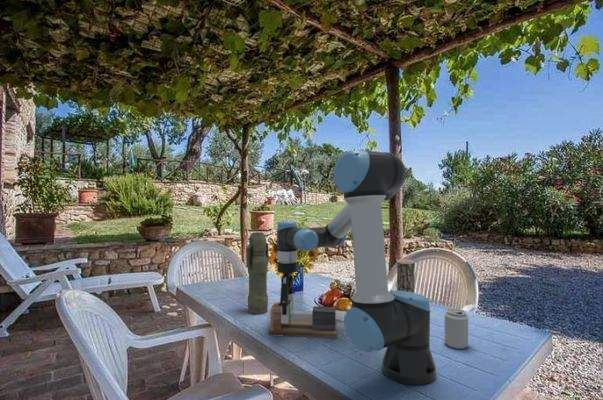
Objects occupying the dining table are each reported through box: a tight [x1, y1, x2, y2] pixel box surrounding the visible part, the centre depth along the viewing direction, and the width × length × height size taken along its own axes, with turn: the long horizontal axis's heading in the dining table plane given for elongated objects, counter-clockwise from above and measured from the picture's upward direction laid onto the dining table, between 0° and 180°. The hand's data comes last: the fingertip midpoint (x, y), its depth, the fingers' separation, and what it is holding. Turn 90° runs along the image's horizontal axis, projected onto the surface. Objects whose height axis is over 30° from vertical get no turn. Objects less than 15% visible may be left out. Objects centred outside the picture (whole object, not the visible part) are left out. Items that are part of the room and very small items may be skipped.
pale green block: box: [284, 300, 313, 324], centre depth 135 cm, size 4×16×8 cm, turn 84°
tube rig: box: [268, 301, 338, 339], centre depth 134 cm, size 12×25×9 cm, turn 84°
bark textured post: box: [396, 258, 416, 293], centre depth 143 cm, size 7×7×25 cm
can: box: [444, 308, 469, 350], centre depth 121 cm, size 8×8×12 cm
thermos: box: [245, 232, 270, 316], centre depth 156 cm, size 9×12×35 cm
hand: (287, 316), depth 135 cm, fingers open, 13 cm apart
